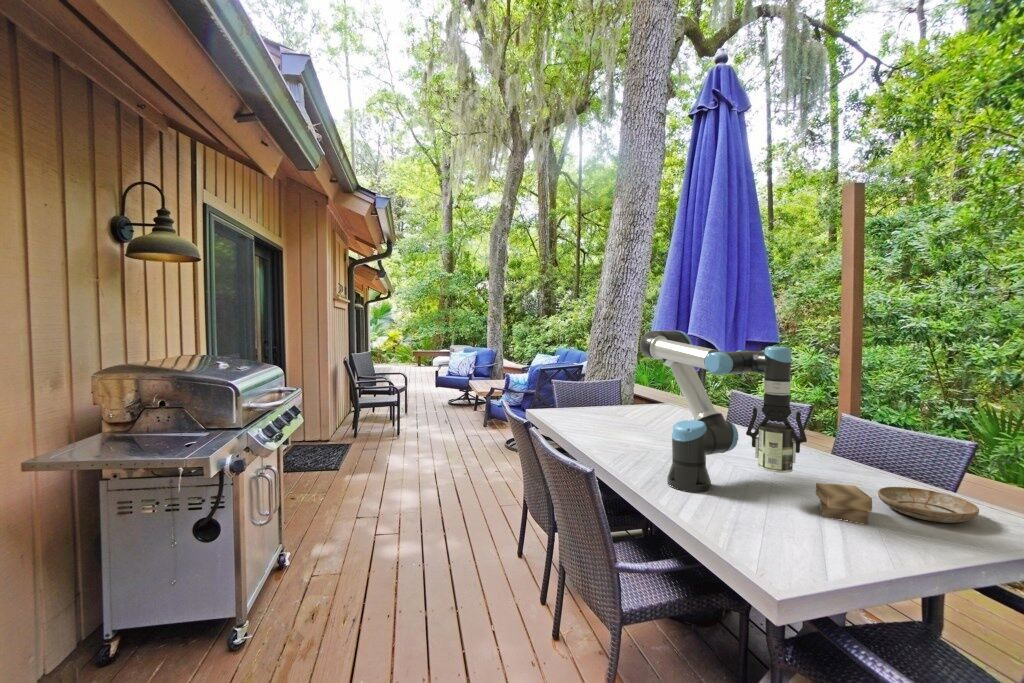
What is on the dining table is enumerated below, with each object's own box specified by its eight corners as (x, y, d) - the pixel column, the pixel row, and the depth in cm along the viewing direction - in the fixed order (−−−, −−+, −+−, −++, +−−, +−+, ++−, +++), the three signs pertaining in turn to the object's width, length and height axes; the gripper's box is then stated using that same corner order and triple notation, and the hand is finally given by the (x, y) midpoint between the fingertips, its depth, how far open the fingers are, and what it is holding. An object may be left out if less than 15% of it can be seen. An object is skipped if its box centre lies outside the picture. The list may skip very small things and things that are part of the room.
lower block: (822, 518, 138) (822, 505, 138) (820, 506, 148) (820, 494, 148) (867, 526, 133) (868, 513, 132) (862, 513, 142) (862, 500, 142)
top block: (829, 507, 137) (829, 494, 136) (815, 494, 147) (815, 482, 147) (871, 511, 133) (872, 498, 133) (855, 498, 144) (855, 485, 144)
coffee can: (785, 463, 154) (786, 423, 153) (798, 474, 144) (799, 430, 143) (752, 462, 156) (753, 421, 155) (763, 471, 146) (764, 429, 145)
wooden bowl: (977, 513, 140) (977, 497, 140) (980, 538, 123) (980, 521, 123) (881, 494, 157) (882, 480, 156) (872, 514, 140) (873, 499, 140)
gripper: (737, 392, 151) (736, 457, 152) (818, 398, 140) (816, 468, 141) (739, 389, 158) (738, 451, 159) (817, 394, 146) (815, 462, 147)
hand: (774, 459), depth 150 cm, fingers closed on coffee can, 10 cm apart
